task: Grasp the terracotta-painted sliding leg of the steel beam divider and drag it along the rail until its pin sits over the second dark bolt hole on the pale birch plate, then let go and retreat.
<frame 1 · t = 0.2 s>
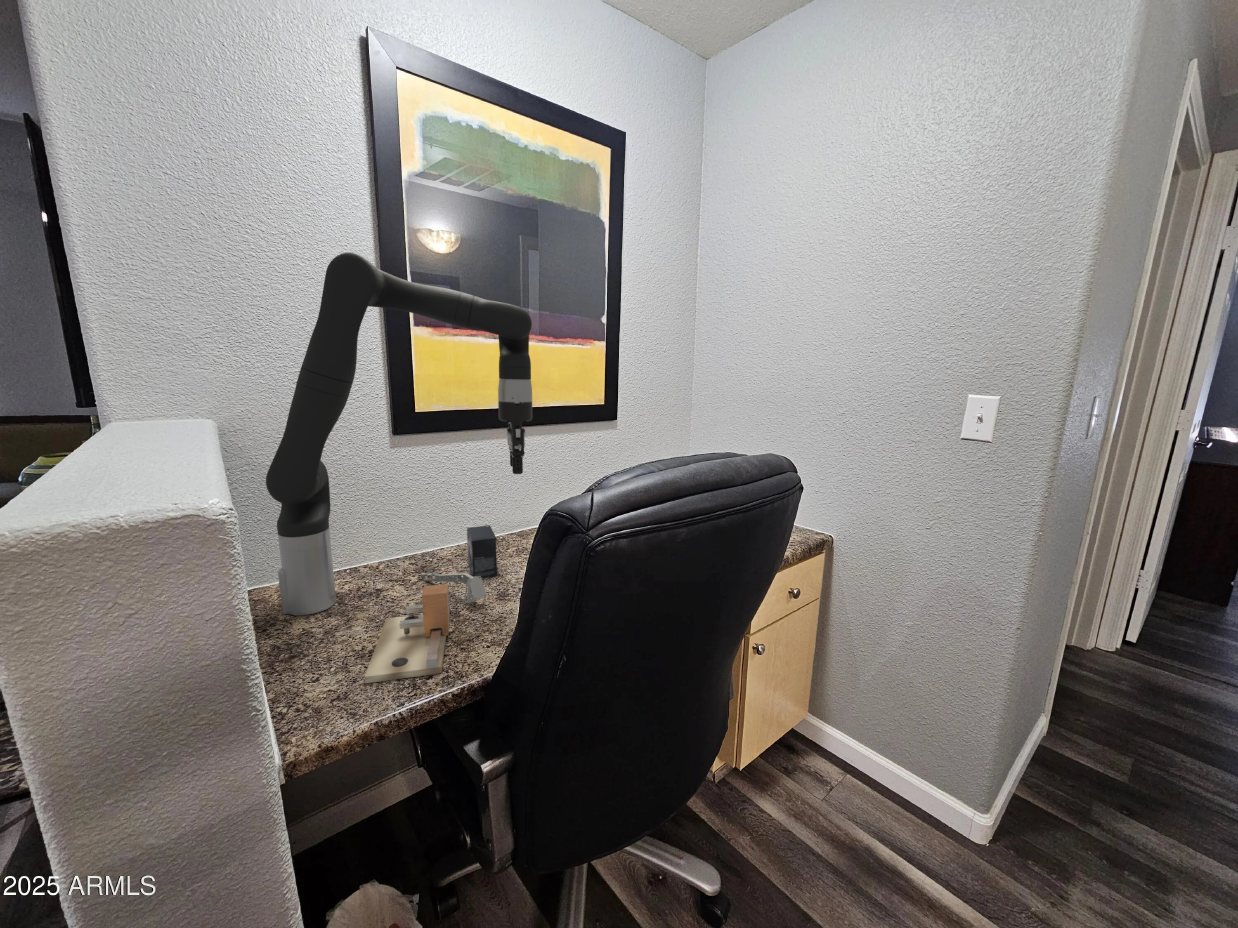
hand: (516, 469, 113), 29 cm above the table, fingers open, 8 cm apart
divider beam: (422, 631, 92), on the bolt plate, point 3 cm above the table
bolt plate: (411, 646, 92), on the table
sliding leg: (424, 611, 93), point 6 cm above the table, slide at 0.0 cm
small box: (482, 570, 127), on the table
bracket: (450, 593, 114), on the table
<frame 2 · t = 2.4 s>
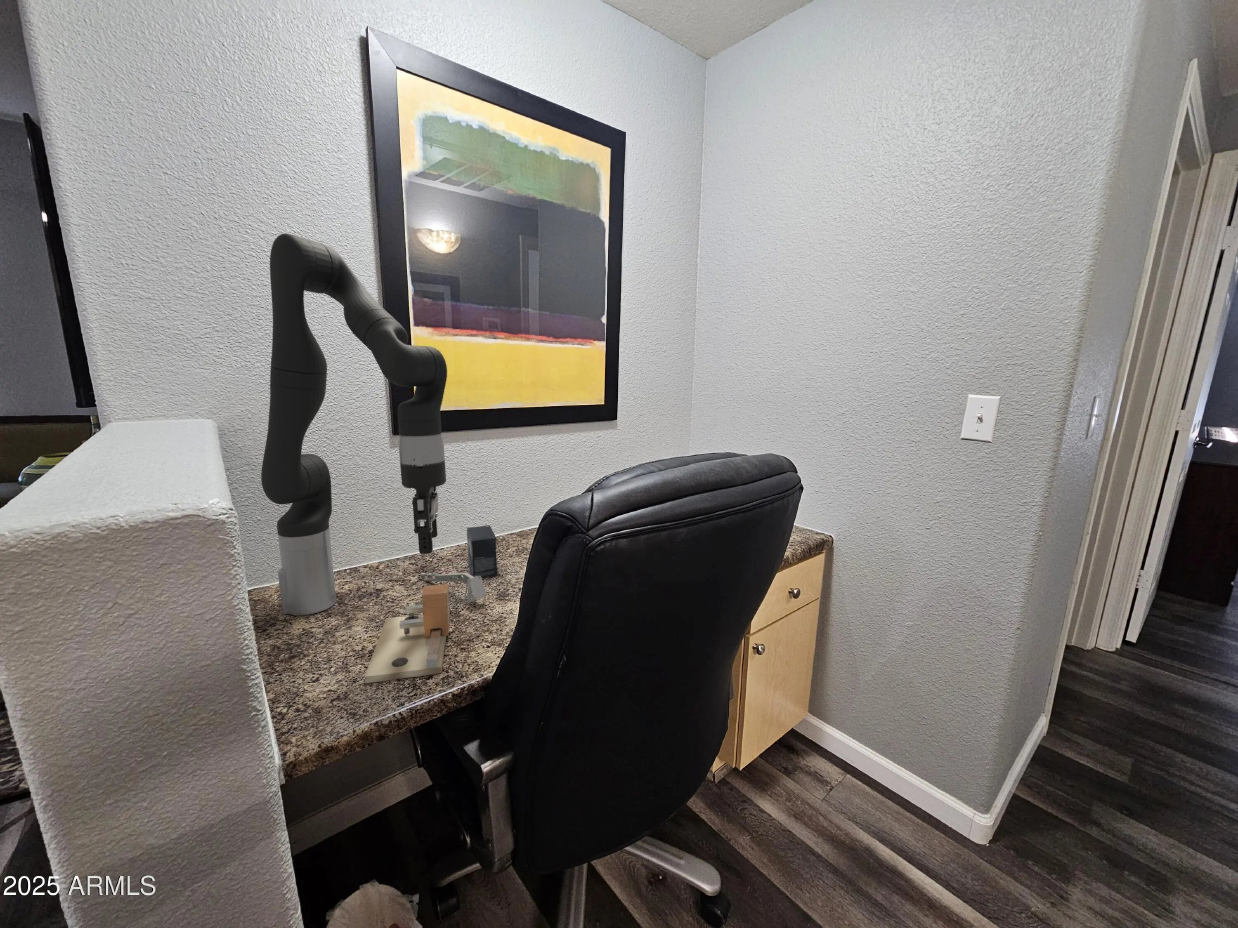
hand: (429, 544, 90), 19 cm above the table, fingers open, 8 cm apart
nothing on the table moved.
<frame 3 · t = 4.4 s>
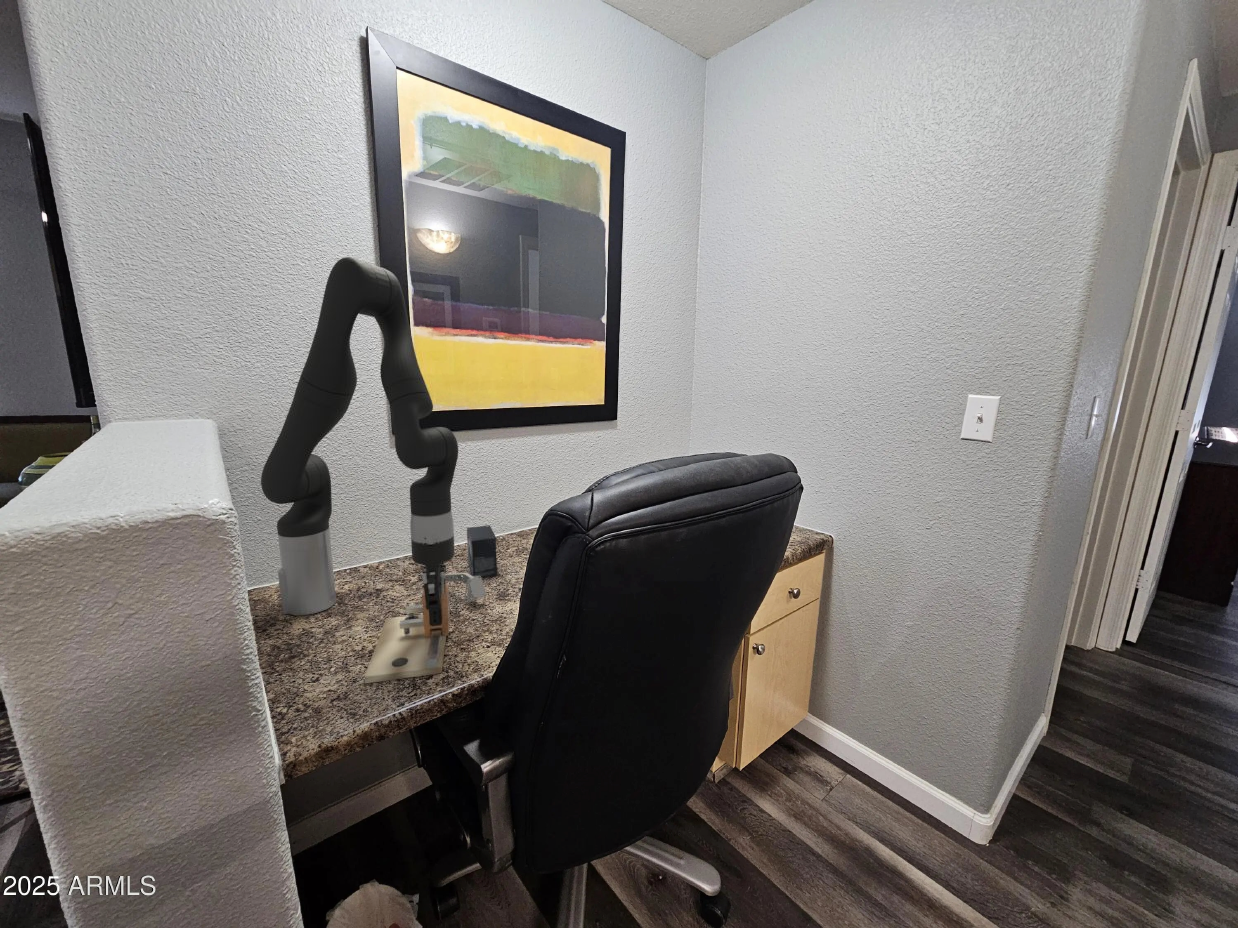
hand: (437, 618, 94), 4 cm above the table, fingers closed on sliding leg, 4 cm apart
sliding leg: (424, 611, 93), point 6 cm above the table, slide at 0.0 cm, touching gripper
everything else where it was.
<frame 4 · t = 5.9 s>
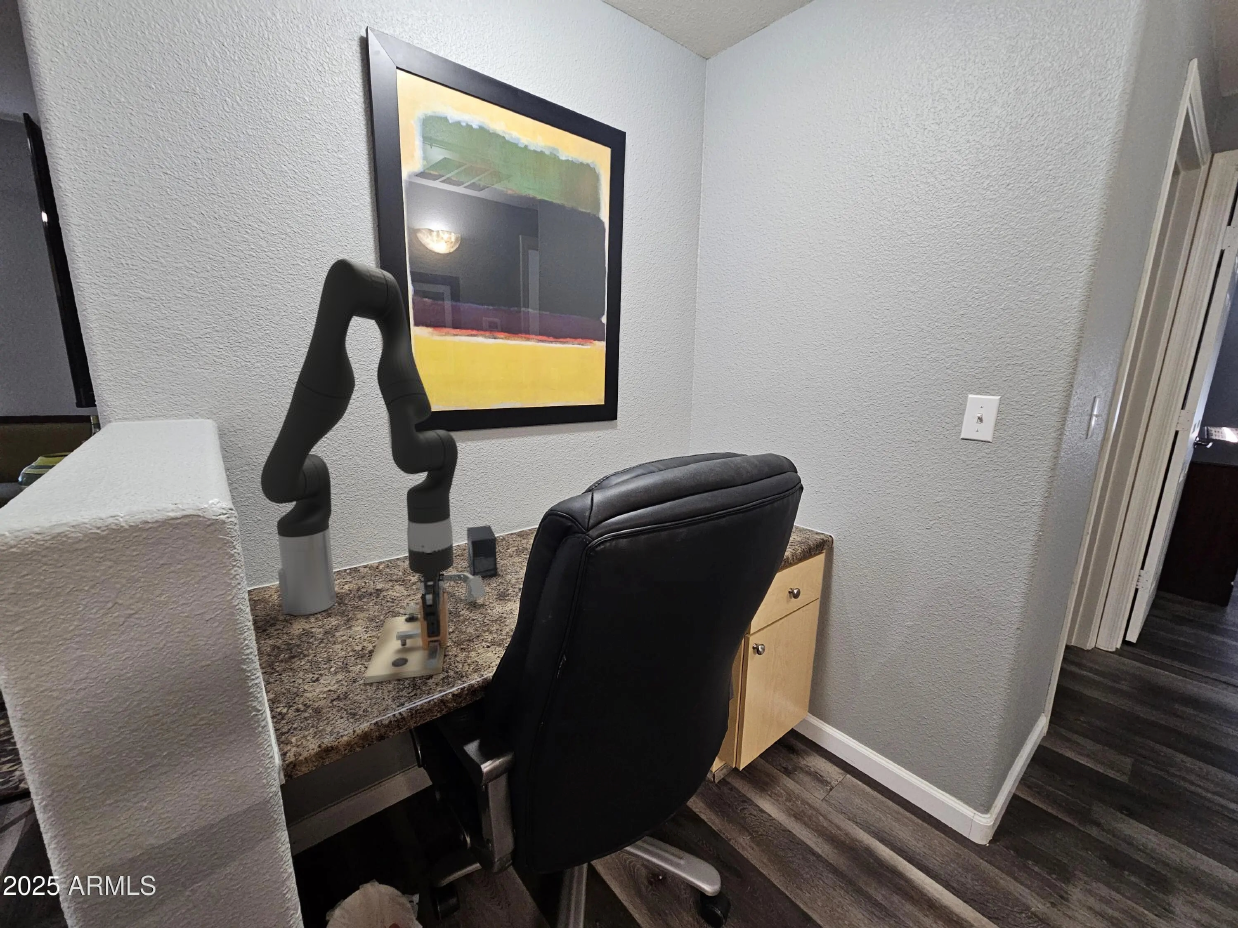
hand: (435, 629, 90), 4 cm above the table, fingers closed on sliding leg, 4 cm apart
sliding leg: (421, 622, 89), point 6 cm above the table, slide at 4.2 cm, touching gripper
everything else where it was.
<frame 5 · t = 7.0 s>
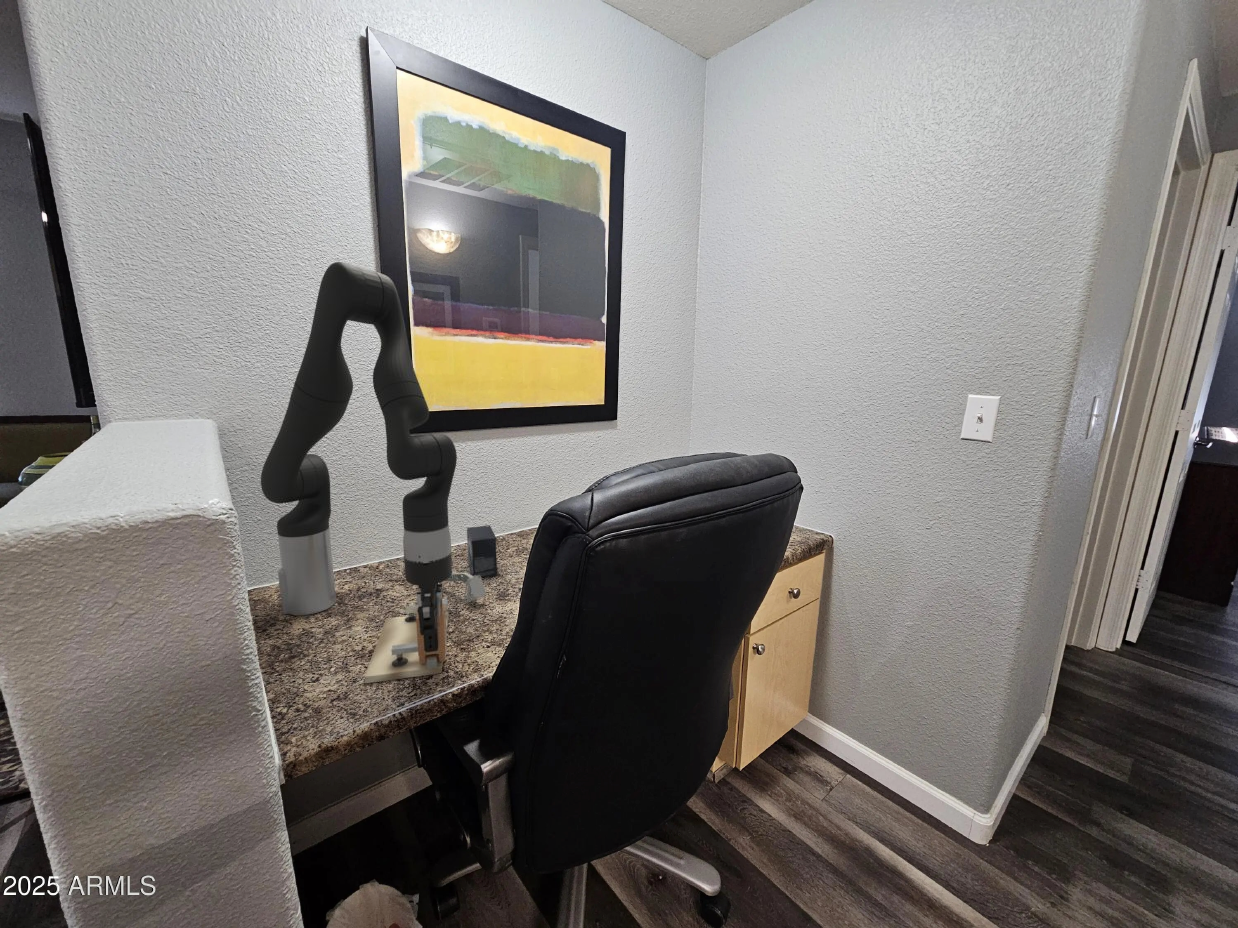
hand: (432, 642, 86), 4 cm above the table, fingers closed on sliding leg, 4 cm apart
sliding leg: (418, 635, 85), point 6 cm above the table, slide at 8.9 cm, touching gripper
everything else where it was.
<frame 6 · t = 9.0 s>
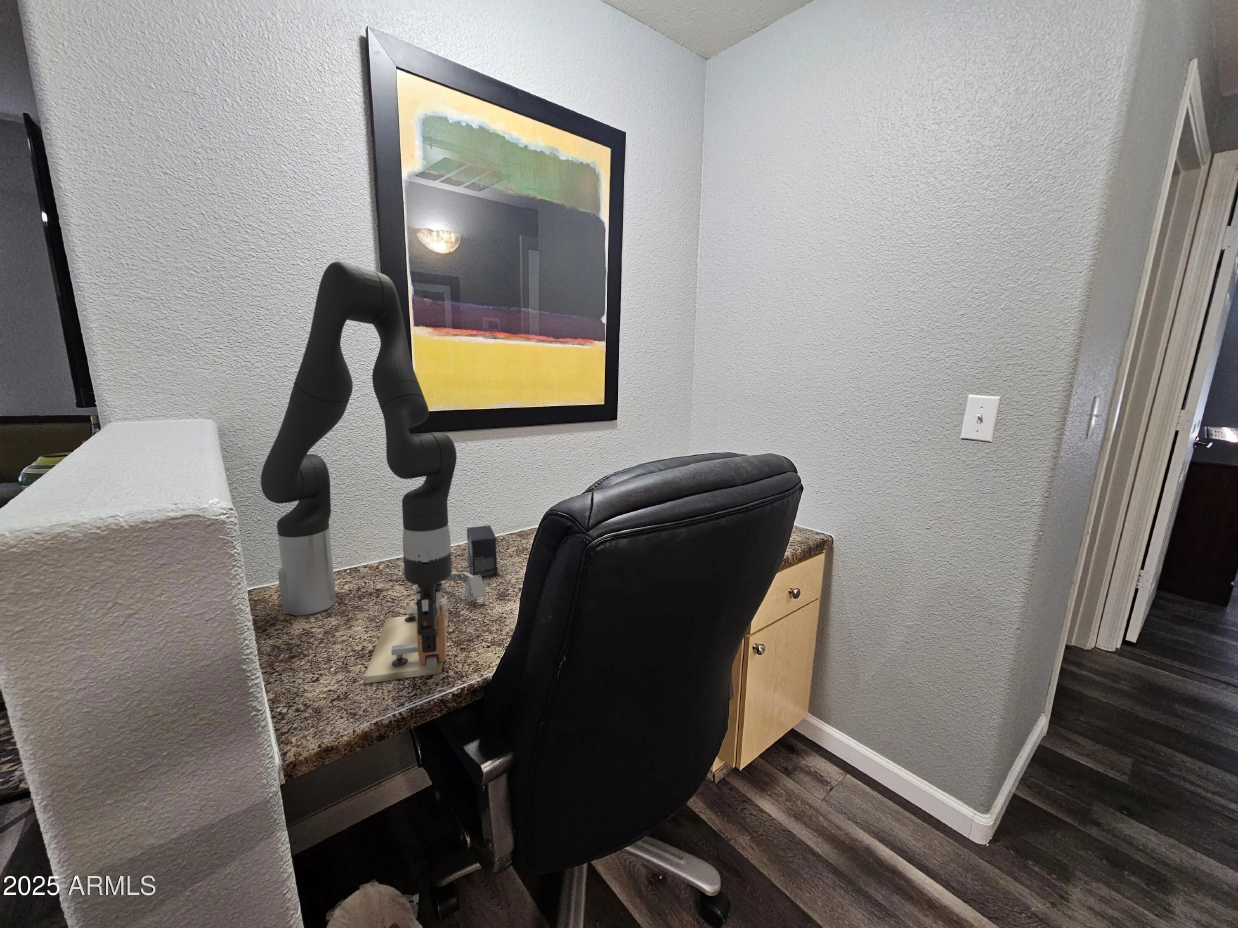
hand: (432, 637, 85), 5 cm above the table, fingers open, 8 cm apart
sliding leg: (418, 635, 85), point 6 cm above the table, slide at 9.0 cm
everything else where it was.
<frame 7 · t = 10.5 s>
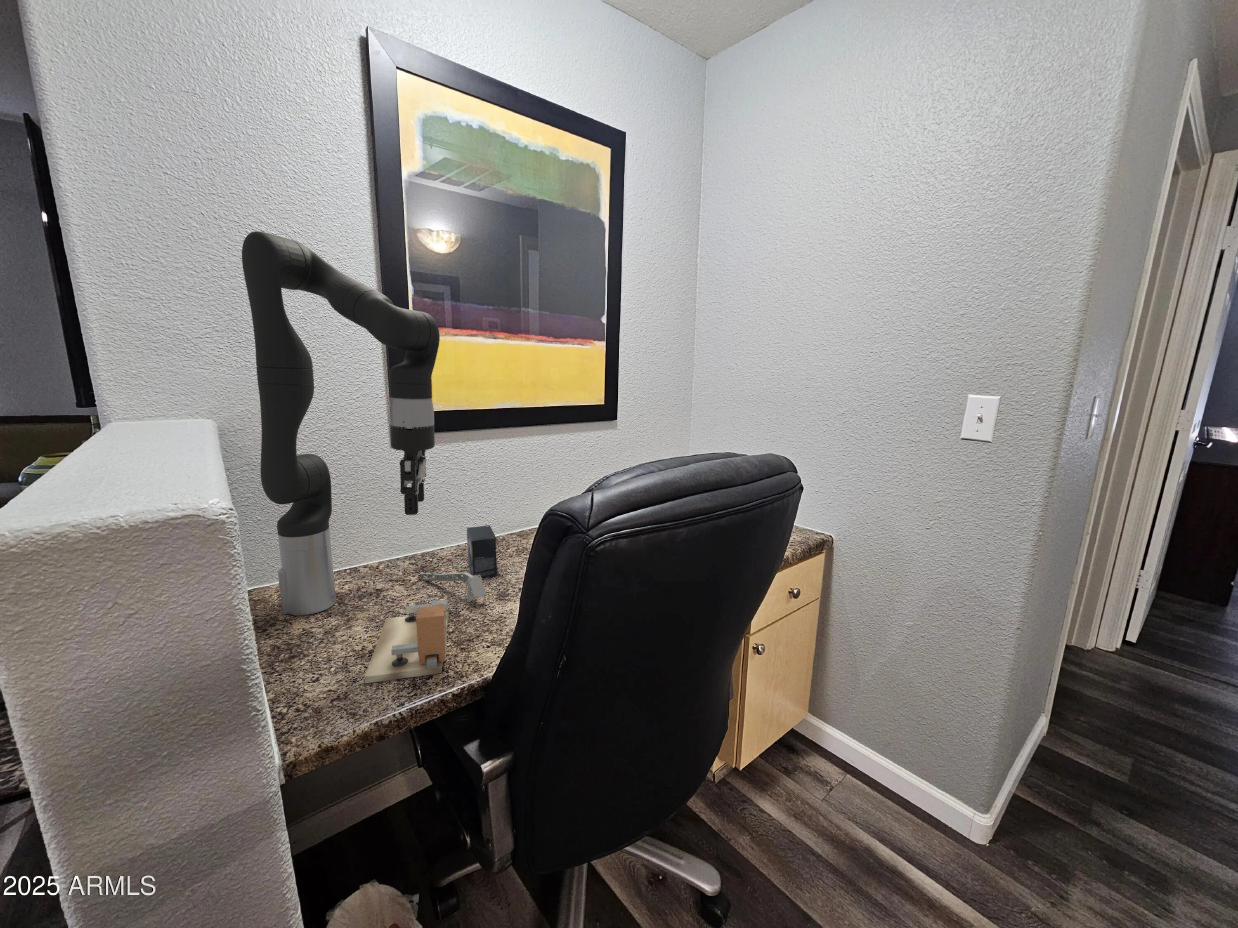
hand: (415, 507, 92), 26 cm above the table, fingers open, 8 cm apart
nothing on the table moved.
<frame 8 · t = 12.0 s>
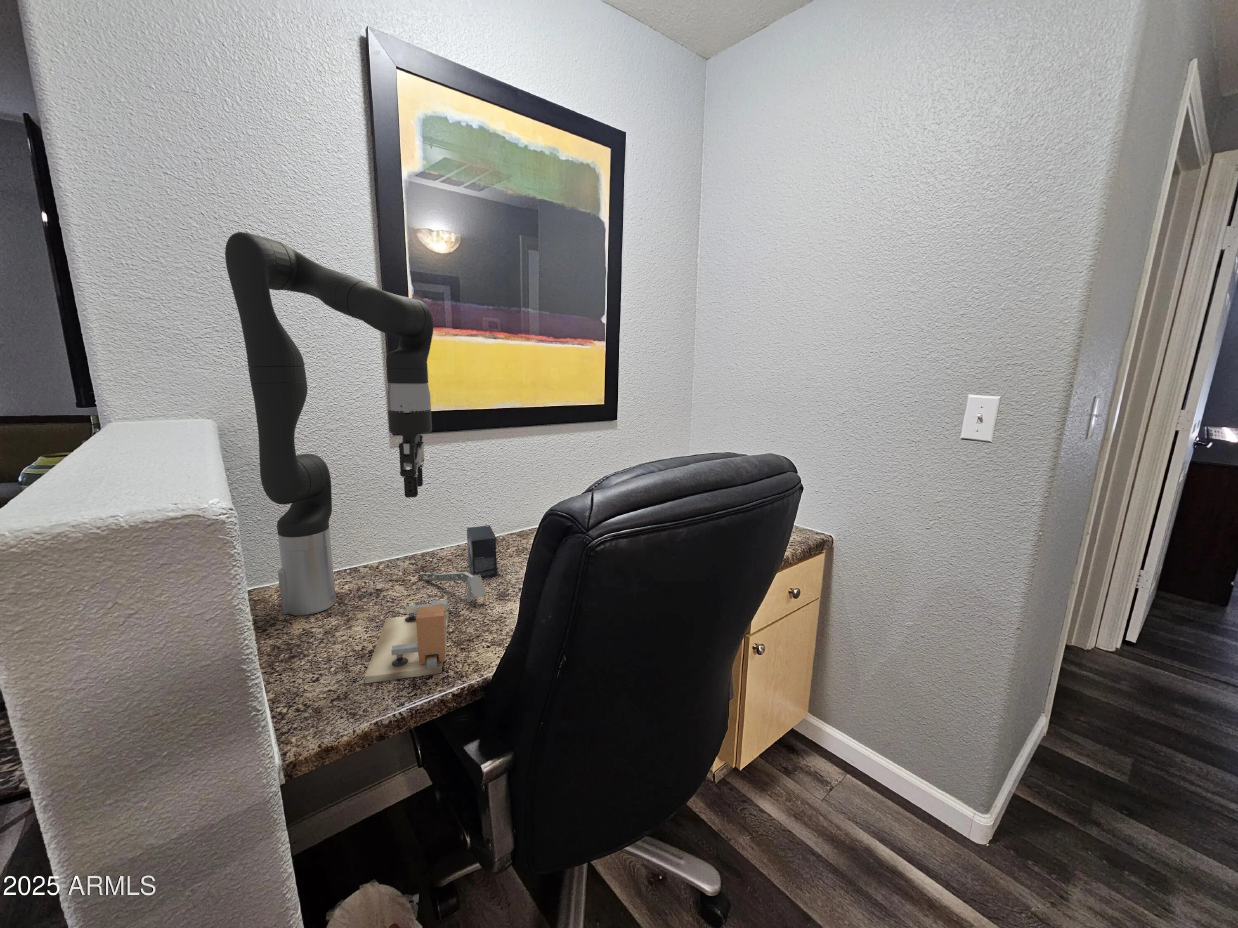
hand: (414, 491, 94), 28 cm above the table, fingers open, 8 cm apart
nothing on the table moved.
at the end: sliding leg slide at 9.0 cm; the gripper is holding nothing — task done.
